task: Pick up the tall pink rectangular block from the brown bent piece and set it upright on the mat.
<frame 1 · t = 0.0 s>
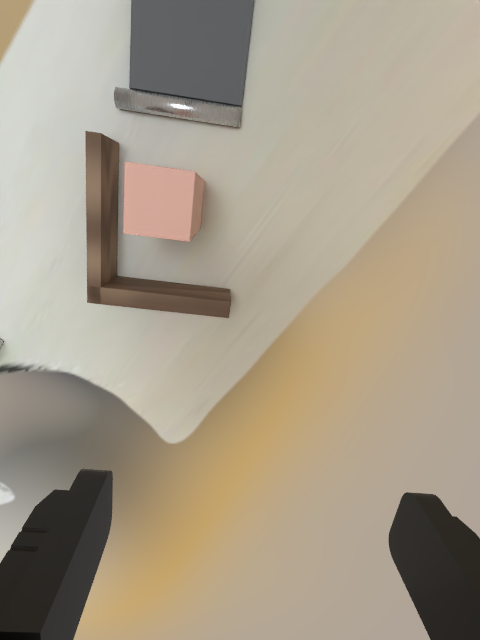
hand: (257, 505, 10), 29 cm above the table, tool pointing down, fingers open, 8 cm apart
brown bent piece: (179, 202, 34), on the table
tall pink rectangular block: (179, 202, 34), on the table
mat: (191, 32, 30), on the table
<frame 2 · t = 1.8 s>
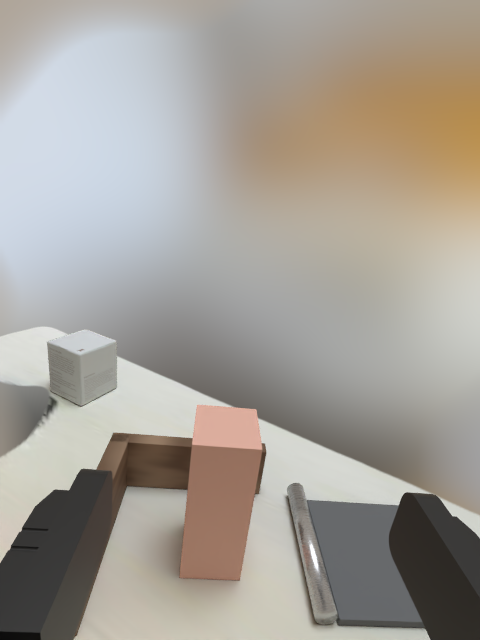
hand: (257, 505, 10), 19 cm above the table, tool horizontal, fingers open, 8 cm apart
brown bent piece: (210, 550, 28), on the table
tall pink rectangular block: (210, 550, 28), on the table
mat: (377, 557, 29), on the table
product box: (84, 391, 47), on the table
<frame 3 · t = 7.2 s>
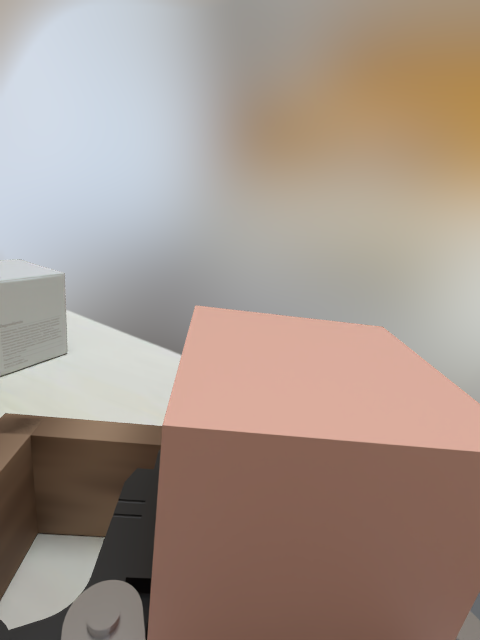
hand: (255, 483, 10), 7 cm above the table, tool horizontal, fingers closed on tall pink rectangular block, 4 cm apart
product box: (13, 356, 29), on the table
when the fingers open (8 cm above the table, at t = 13.9 s): tall pink rectangular block drops 1 cm, resting on mat.
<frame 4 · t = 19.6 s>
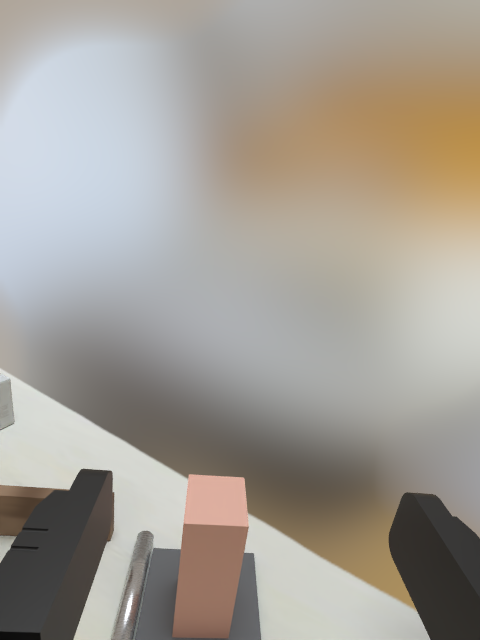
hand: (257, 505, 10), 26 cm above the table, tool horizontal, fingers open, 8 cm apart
brown bent piece: (32, 604, 29), on the table
tall pink rectangular block: (201, 606, 30), point 1 cm above the table, touching mat
mat: (200, 610, 30), on the table
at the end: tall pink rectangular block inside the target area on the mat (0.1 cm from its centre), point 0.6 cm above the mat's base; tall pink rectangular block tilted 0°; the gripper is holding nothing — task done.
